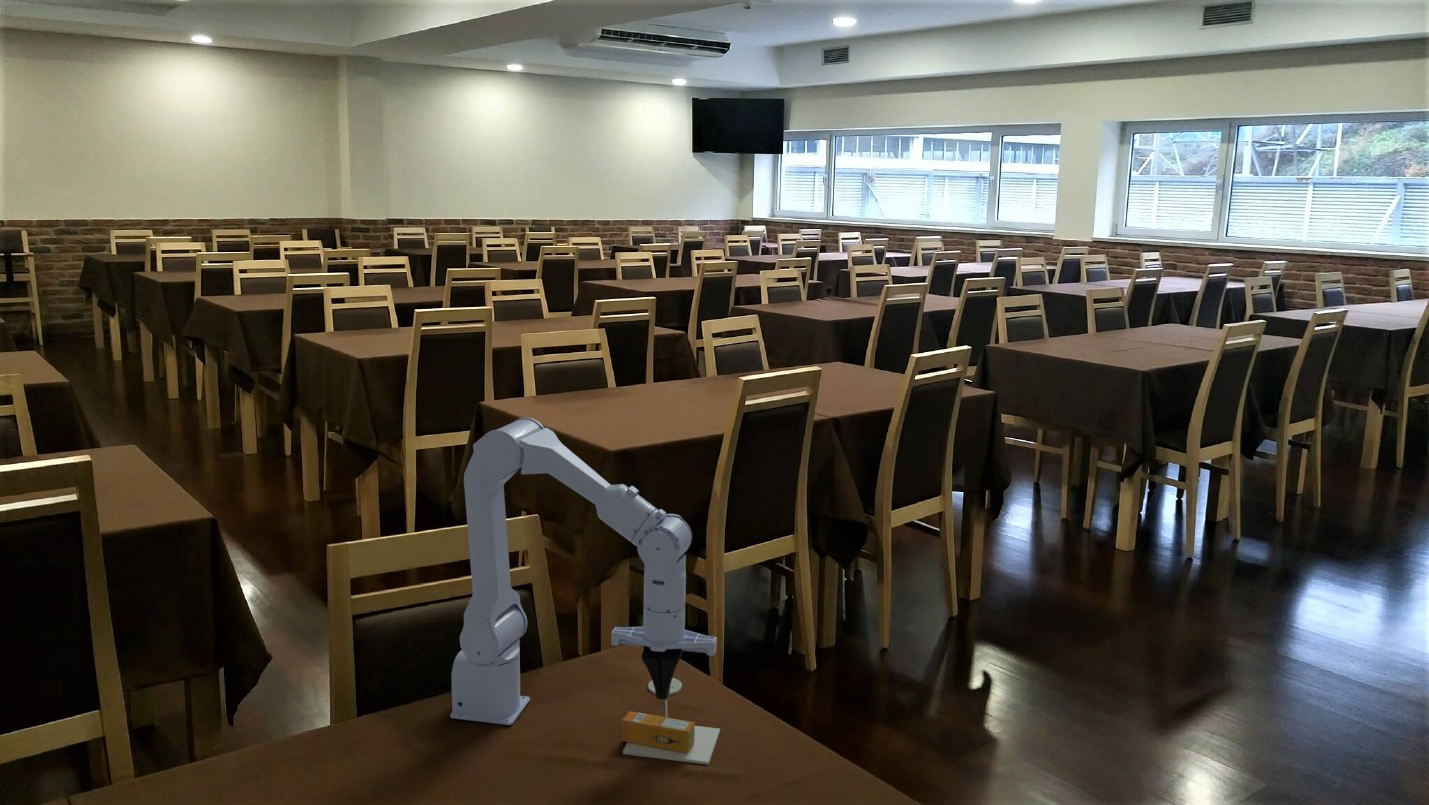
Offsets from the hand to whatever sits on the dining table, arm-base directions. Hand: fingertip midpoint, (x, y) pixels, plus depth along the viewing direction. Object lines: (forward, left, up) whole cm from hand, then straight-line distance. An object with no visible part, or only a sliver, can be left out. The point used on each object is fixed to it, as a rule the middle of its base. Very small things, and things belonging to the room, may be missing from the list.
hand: (662, 696), depth 145 cm
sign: (-2, +11, -8) cm, 14 cm away
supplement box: (-6, 0, -5) cm, 7 cm away
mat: (+1, 0, -7) cm, 7 cm away
